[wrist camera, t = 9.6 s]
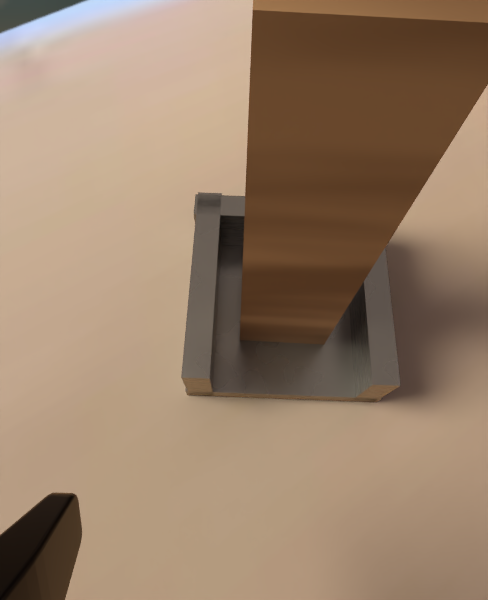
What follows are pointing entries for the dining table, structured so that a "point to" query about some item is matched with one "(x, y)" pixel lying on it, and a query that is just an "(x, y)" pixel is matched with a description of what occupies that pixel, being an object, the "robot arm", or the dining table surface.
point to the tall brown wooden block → (344, 144)
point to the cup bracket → (278, 355)
